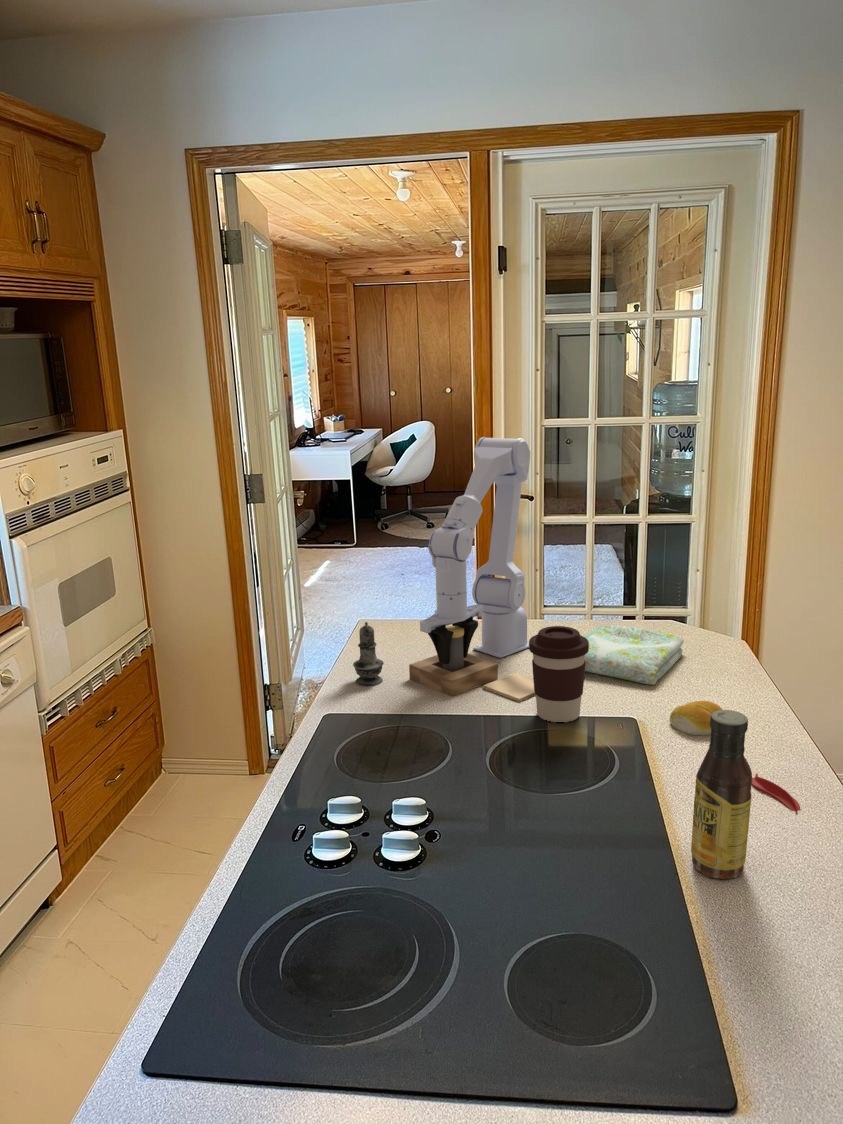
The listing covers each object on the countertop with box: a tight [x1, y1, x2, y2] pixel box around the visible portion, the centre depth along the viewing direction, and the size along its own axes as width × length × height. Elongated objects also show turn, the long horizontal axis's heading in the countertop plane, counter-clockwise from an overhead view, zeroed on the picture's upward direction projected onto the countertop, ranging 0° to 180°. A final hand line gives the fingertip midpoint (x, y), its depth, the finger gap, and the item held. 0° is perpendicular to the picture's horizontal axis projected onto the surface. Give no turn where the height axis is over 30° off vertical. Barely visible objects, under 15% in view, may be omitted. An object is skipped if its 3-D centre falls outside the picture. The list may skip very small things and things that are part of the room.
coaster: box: [482, 672, 536, 703], centre depth 159 cm, size 9×9×1 cm
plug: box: [443, 625, 464, 672], centre depth 163 cm, size 4×4×10 cm
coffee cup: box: [528, 625, 589, 723], centre depth 145 cm, size 10×10×15 cm
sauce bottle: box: [690, 709, 753, 880], centre depth 100 cm, size 6×6×20 cm
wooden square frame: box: [408, 653, 499, 697], centre depth 164 cm, size 12×12×3 cm
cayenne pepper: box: [751, 773, 801, 815], centre depth 119 cm, size 12×5×2 cm, turn 177°
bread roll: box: [669, 700, 724, 736], centre depth 141 cm, size 8×9×4 cm
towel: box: [582, 625, 685, 686], centre depth 170 cm, size 18×21×5 cm
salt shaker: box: [352, 621, 385, 687], centre depth 163 cm, size 6×6×12 cm
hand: (453, 659), depth 163 cm, fingers closed on plug, 4 cm apart
